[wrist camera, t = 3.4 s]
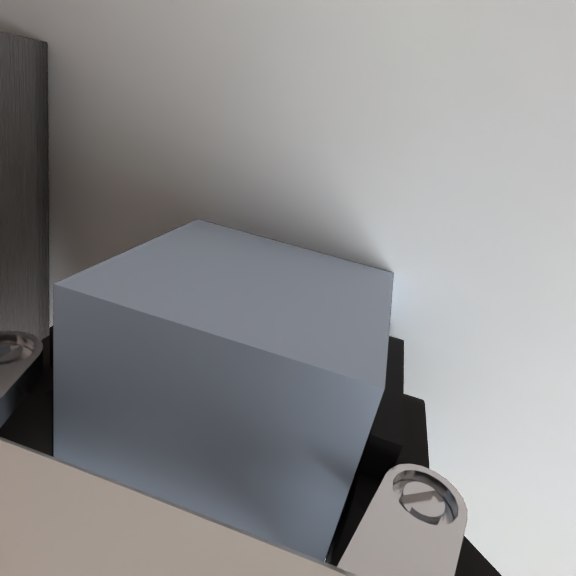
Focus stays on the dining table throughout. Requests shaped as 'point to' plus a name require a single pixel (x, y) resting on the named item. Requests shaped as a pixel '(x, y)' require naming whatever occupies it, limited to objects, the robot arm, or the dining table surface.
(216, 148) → the dining table surface
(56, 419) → the pale blue cube
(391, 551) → the robot arm
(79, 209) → the dining table surface
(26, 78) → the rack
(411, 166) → the dining table surface
